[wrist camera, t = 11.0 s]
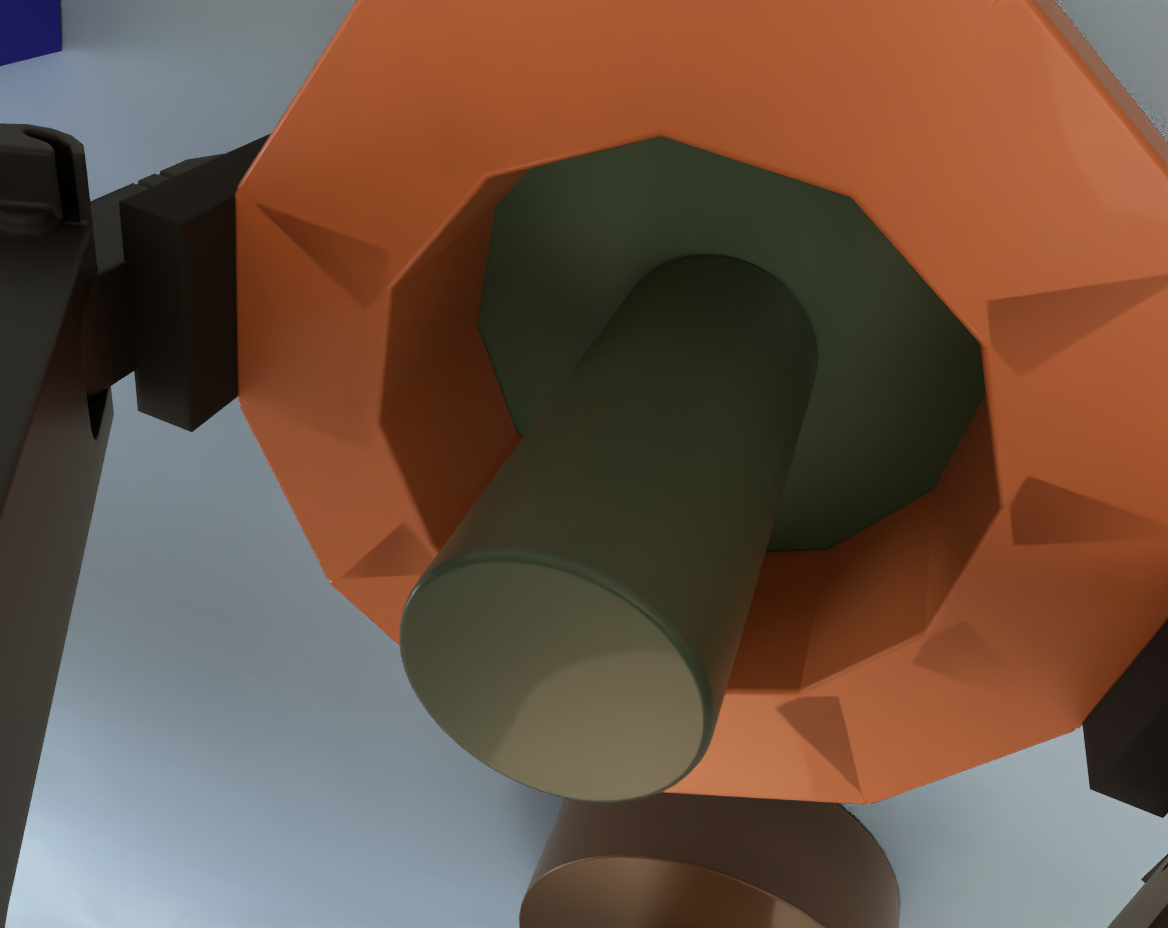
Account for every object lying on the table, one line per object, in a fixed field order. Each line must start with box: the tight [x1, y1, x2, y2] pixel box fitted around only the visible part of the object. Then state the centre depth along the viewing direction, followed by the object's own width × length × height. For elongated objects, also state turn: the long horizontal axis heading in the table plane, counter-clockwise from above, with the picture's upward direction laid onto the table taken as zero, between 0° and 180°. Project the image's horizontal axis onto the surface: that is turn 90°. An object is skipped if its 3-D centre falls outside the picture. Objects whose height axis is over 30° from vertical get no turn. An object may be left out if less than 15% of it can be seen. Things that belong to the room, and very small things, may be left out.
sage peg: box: [399, 136, 986, 803], centre depth 12 cm, size 8×8×10 cm
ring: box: [235, 0, 1168, 804], centre depth 12 cm, size 11×11×3 cm
